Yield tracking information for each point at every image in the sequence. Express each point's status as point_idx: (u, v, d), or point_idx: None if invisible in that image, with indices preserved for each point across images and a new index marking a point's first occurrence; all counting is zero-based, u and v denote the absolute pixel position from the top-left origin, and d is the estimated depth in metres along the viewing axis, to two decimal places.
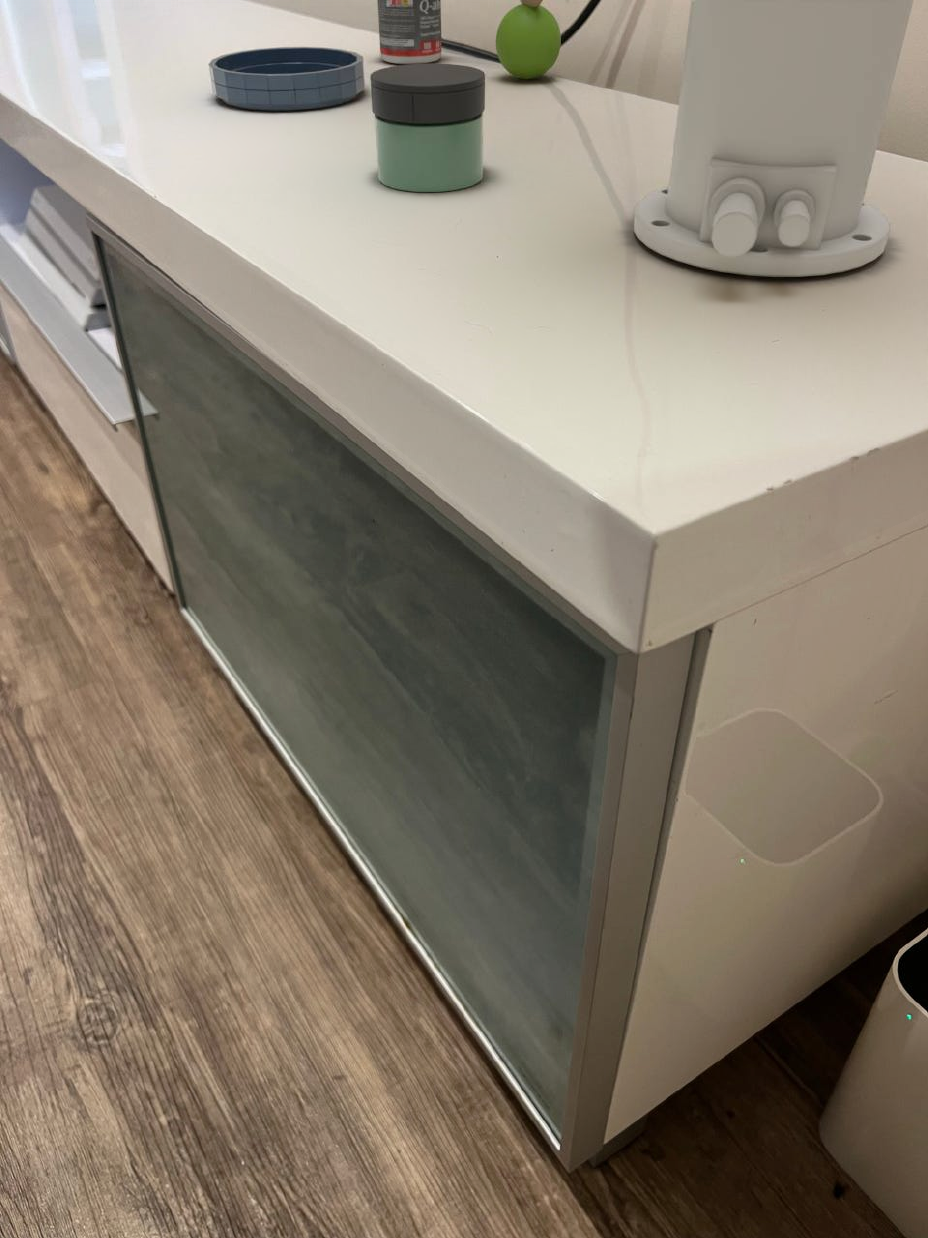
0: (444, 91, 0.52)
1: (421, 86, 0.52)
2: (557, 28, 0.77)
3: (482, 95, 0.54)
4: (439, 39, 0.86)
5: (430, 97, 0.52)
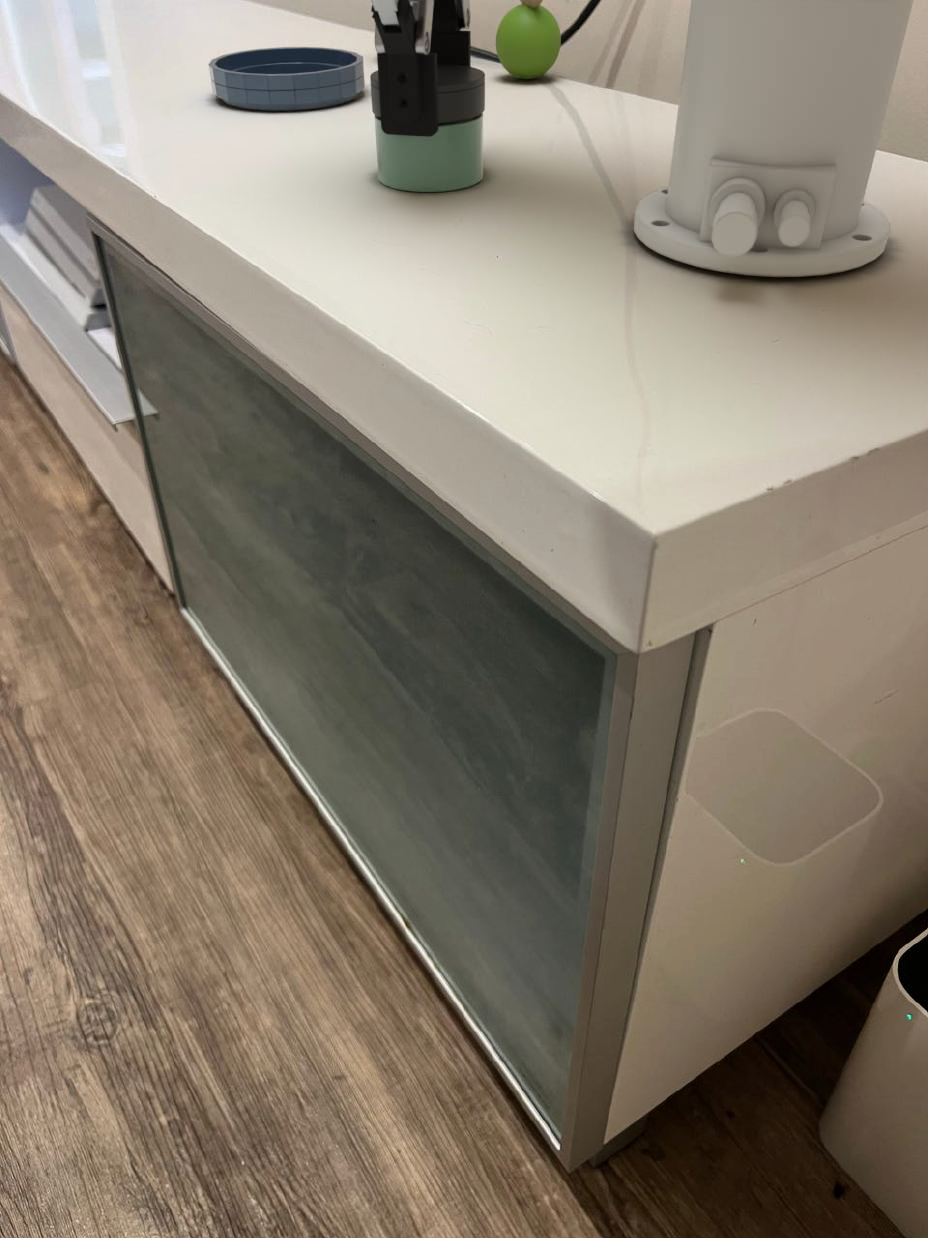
0: (444, 91, 0.52)
1: None
2: (557, 28, 0.77)
3: (482, 95, 0.54)
4: None
5: None
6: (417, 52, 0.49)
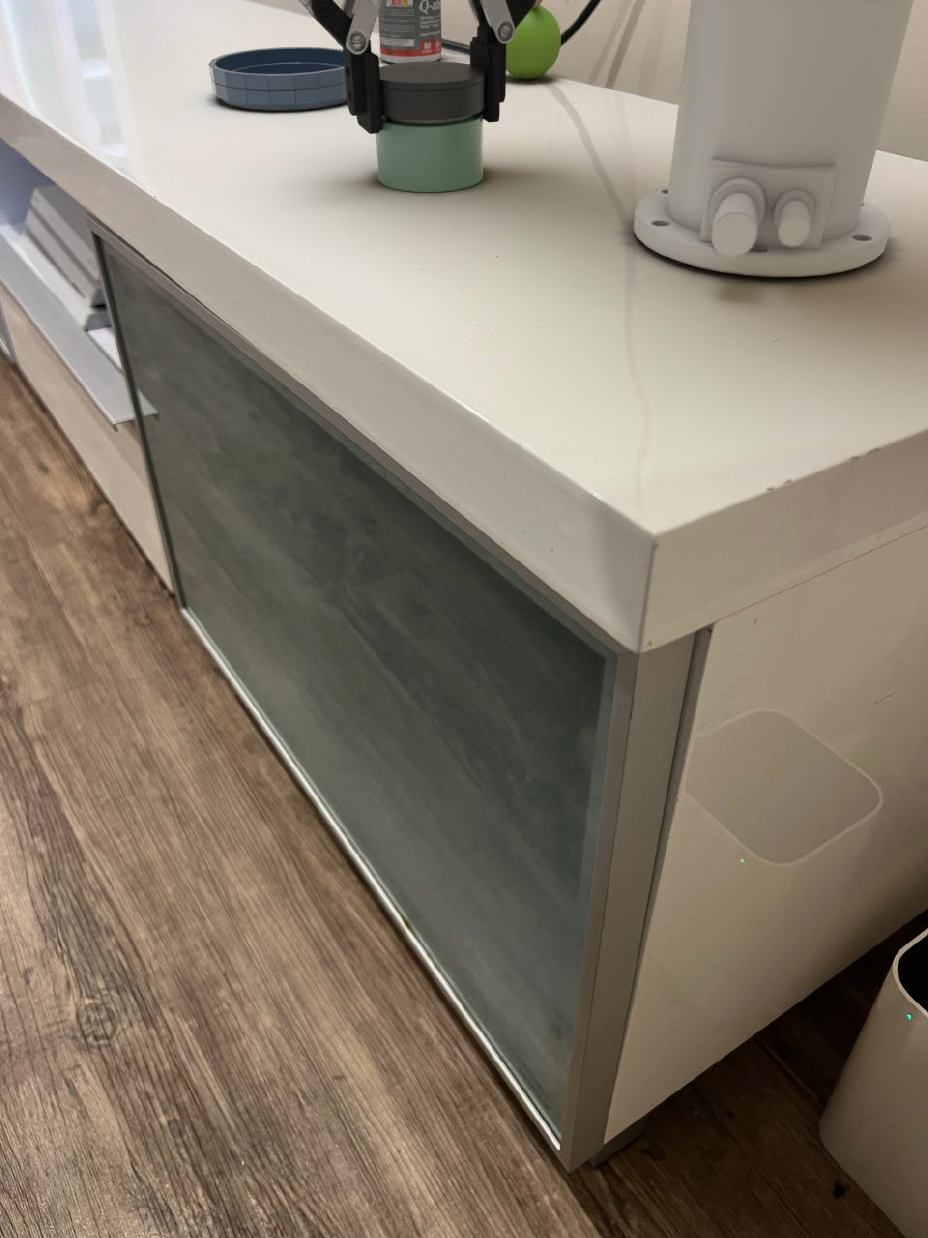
0: None
1: (475, 66, 0.56)
2: (557, 28, 0.77)
3: None
4: (439, 39, 0.86)
5: None
6: None
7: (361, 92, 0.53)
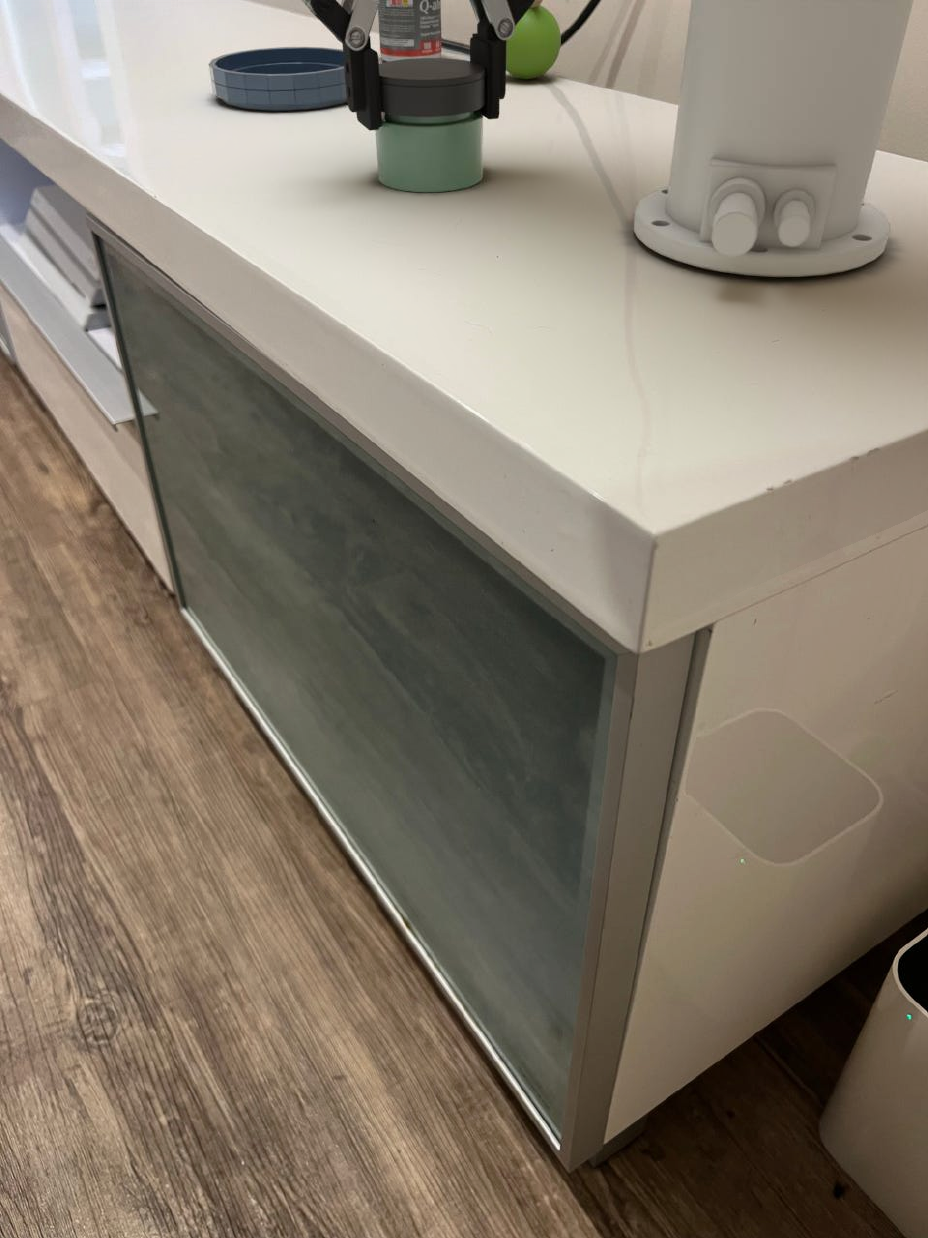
0: None
1: None
2: (557, 28, 0.77)
3: (391, 96, 0.53)
4: (439, 39, 0.86)
5: None
6: None
7: (360, 88, 0.53)
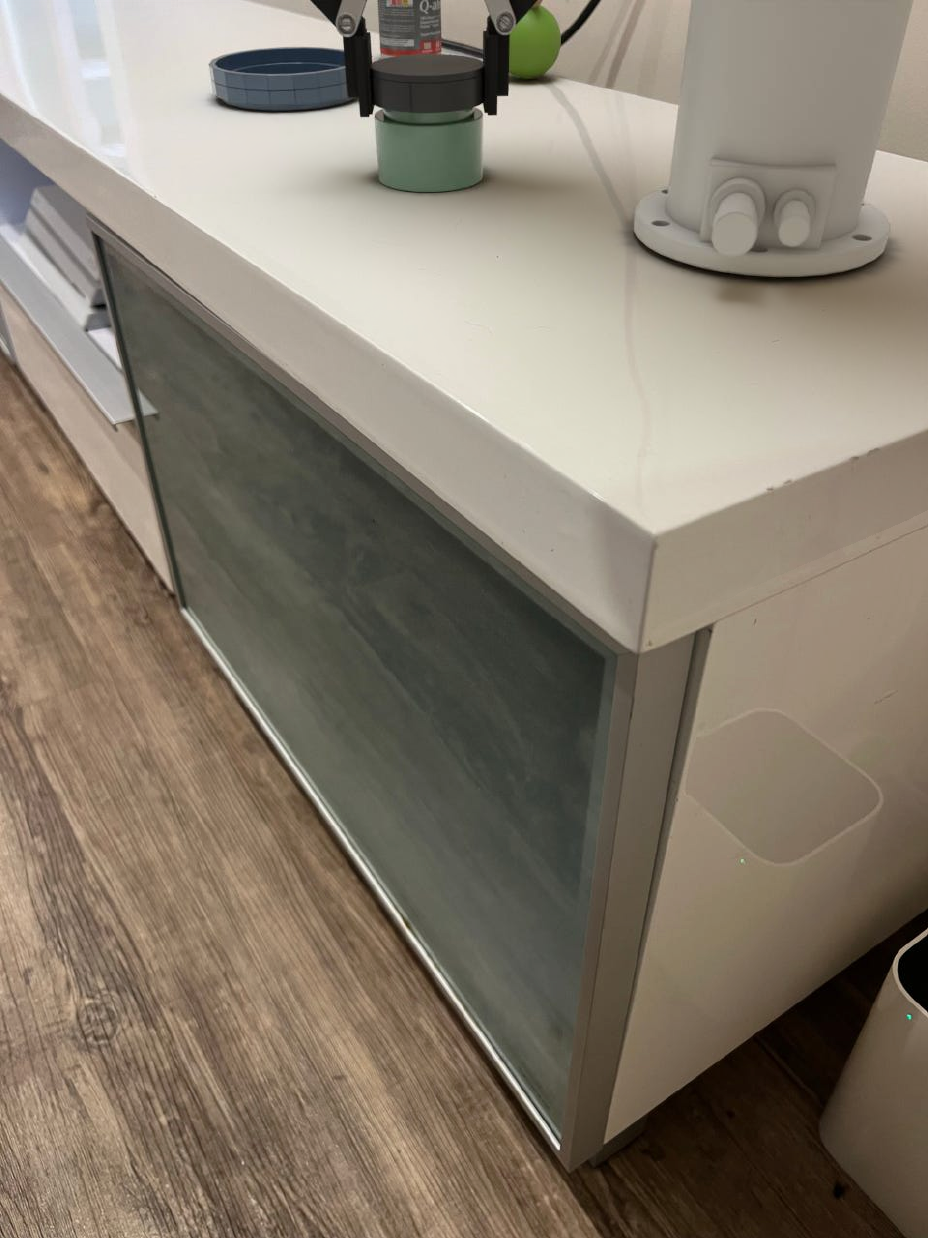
0: (442, 81, 0.52)
1: (419, 76, 0.52)
2: (557, 28, 0.77)
3: (481, 86, 0.54)
4: (439, 39, 0.86)
5: (427, 87, 0.52)
6: None
7: (354, 75, 0.54)
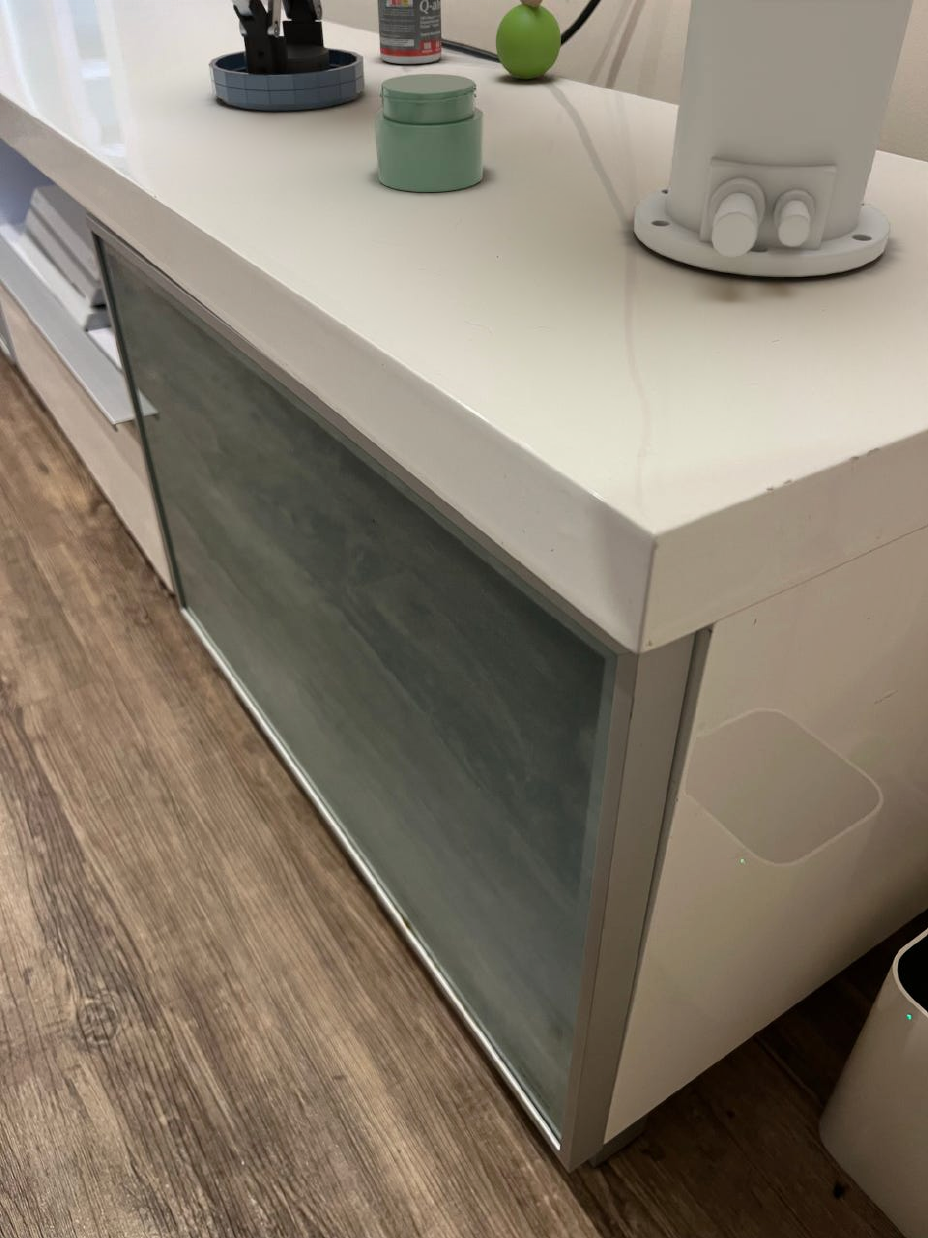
0: (328, 54, 0.74)
1: (323, 53, 0.73)
2: (557, 28, 0.77)
3: None
4: (439, 39, 0.86)
5: (326, 60, 0.74)
6: None
7: (275, 67, 0.71)
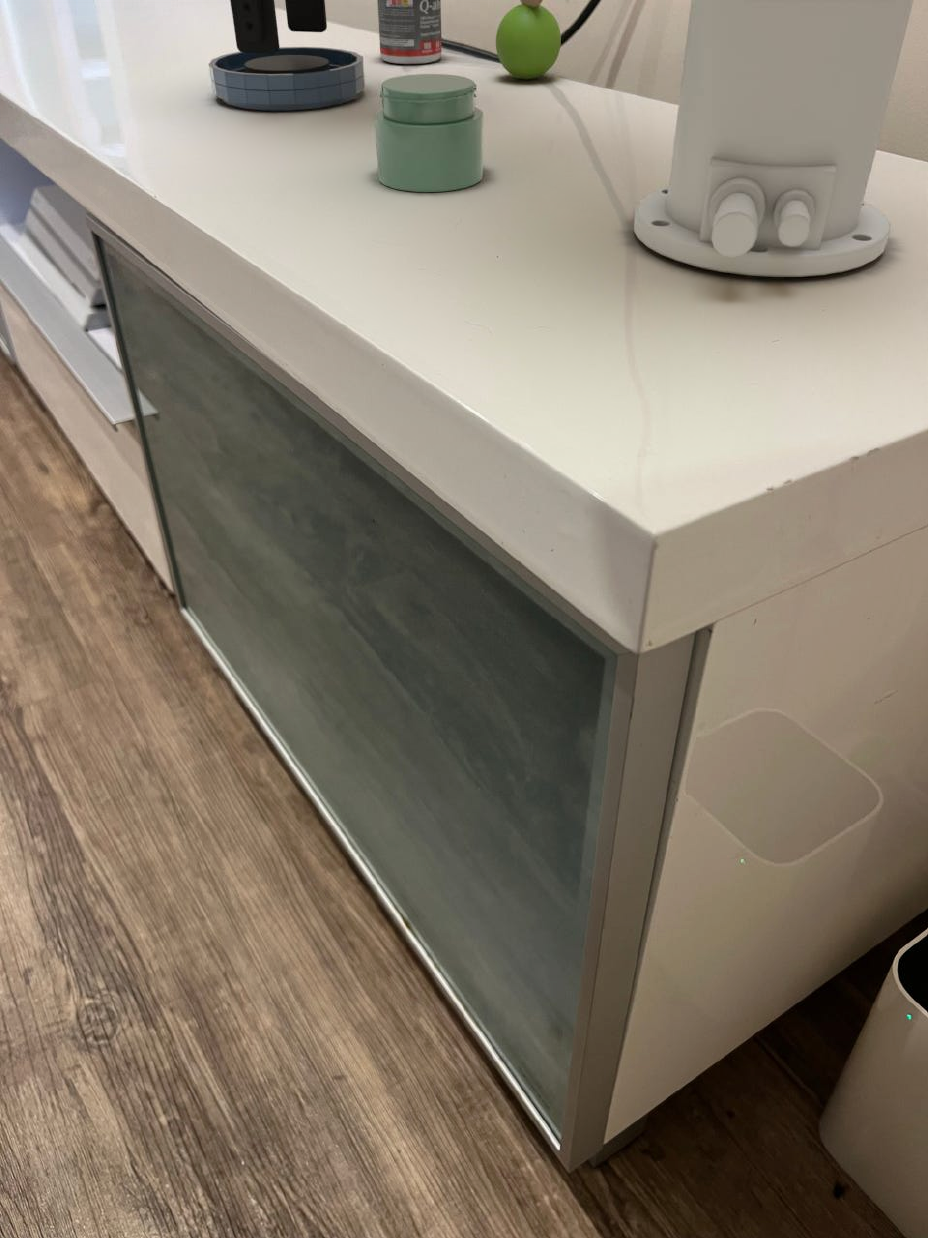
0: (328, 66, 0.75)
1: (323, 65, 0.74)
2: (557, 28, 0.77)
3: None
4: (439, 39, 0.86)
5: None
6: None
7: (262, 20, 0.68)
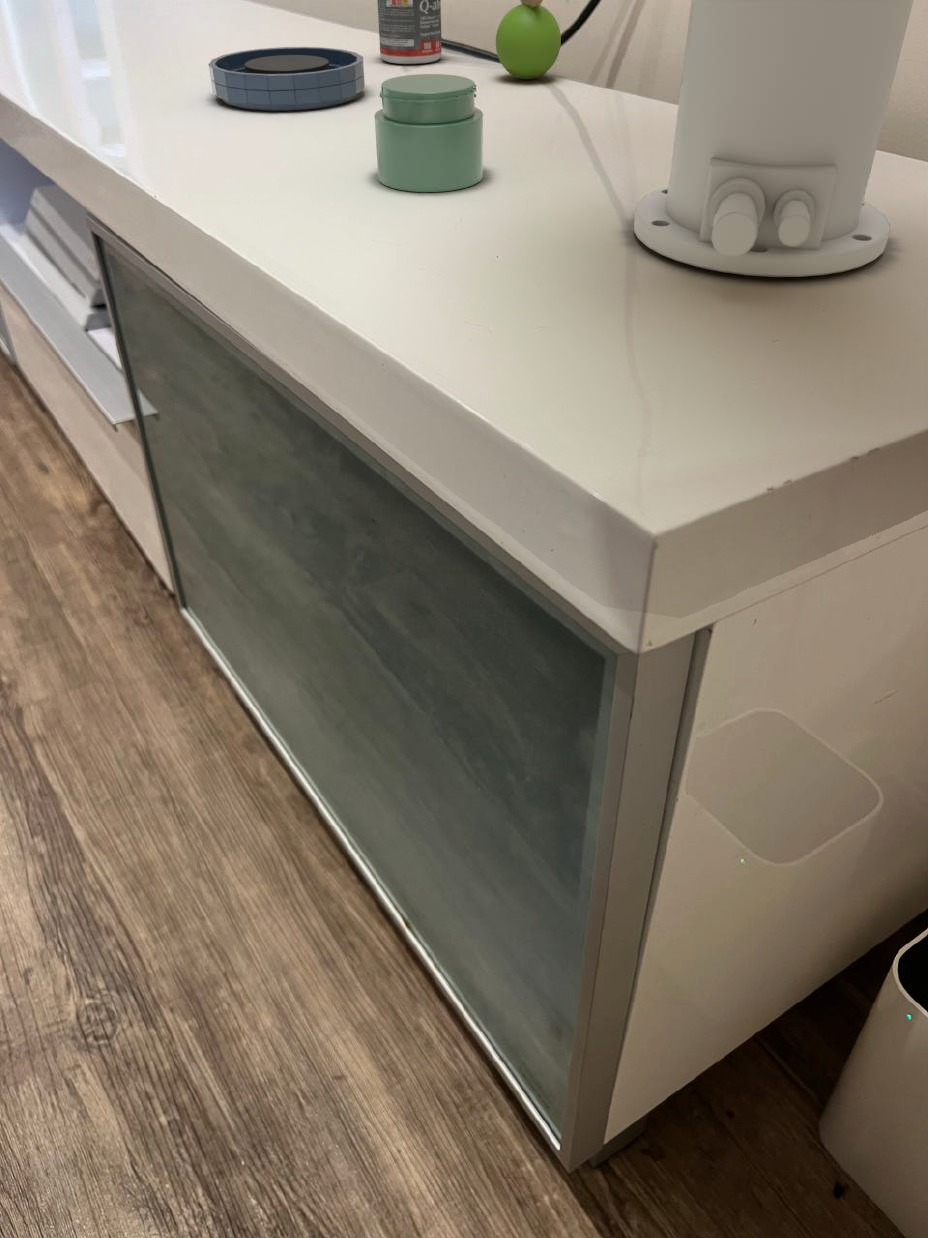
0: (328, 66, 0.75)
1: (323, 65, 0.74)
2: (557, 28, 0.77)
3: None
4: (439, 39, 0.86)
5: None
6: None
7: None
